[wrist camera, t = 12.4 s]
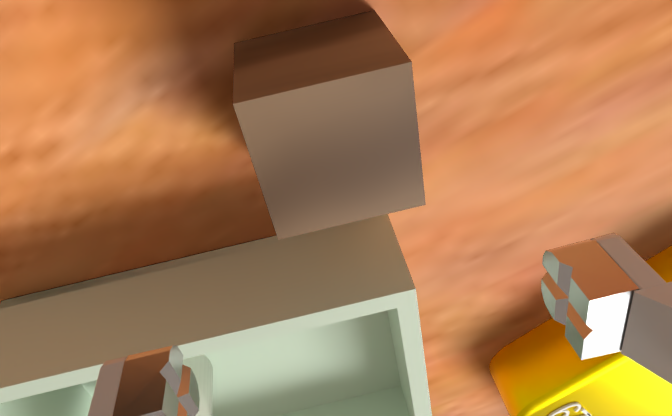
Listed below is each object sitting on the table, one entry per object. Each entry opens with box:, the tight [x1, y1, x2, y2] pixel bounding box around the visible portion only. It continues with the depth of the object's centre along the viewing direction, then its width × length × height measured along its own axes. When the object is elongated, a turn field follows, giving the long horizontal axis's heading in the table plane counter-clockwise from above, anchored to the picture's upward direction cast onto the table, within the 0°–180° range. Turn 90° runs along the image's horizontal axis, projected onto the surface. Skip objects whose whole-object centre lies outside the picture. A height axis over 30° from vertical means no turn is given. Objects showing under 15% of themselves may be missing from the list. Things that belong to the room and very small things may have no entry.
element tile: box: [489, 246, 672, 416], centre depth 32 cm, size 15×15×5 cm
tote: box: [0, 214, 432, 416], centre depth 25 cm, size 14×18×5 cm
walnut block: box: [233, 10, 426, 240], centre depth 18 cm, size 5×5×5 cm
